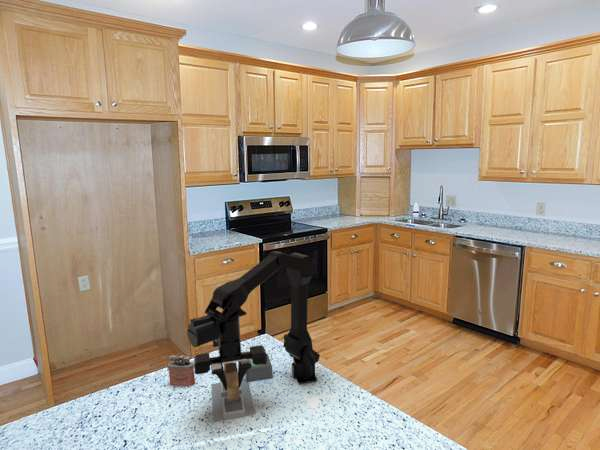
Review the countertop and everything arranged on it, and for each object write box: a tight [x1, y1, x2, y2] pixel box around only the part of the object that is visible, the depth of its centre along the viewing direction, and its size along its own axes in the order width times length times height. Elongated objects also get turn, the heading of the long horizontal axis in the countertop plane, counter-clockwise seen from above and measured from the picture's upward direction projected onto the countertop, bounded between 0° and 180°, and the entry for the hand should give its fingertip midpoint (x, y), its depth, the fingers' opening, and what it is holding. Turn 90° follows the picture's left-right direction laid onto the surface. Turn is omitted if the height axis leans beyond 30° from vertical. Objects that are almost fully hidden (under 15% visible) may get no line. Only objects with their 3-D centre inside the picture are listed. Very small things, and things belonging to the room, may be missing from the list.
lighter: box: [167, 354, 196, 387], centre depth 119 cm, size 8×3×10 cm, turn 84°
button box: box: [244, 353, 273, 383], centre depth 124 cm, size 8×8×5 cm
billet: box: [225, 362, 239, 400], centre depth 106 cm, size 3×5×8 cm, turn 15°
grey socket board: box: [210, 378, 256, 423], centre depth 112 cm, size 11×18×2 cm, turn 14°
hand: (232, 388), depth 106 cm, fingers closed on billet, 3 cm apart
